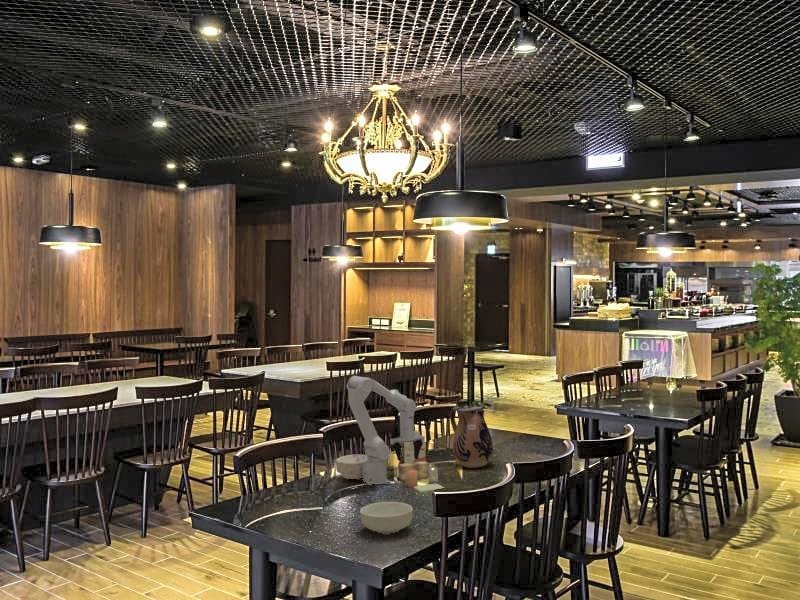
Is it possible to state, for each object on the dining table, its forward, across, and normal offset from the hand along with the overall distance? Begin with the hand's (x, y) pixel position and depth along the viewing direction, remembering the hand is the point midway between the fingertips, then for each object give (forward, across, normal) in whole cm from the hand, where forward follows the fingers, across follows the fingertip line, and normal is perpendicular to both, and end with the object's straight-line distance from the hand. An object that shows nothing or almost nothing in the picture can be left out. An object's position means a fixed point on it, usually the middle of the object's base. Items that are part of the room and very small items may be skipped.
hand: (407, 459), depth 298 cm
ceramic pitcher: (+7, -30, -2) cm, 31 cm away
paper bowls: (+7, +21, -7) cm, 23 cm away
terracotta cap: (+6, +5, +16) cm, 18 cm away
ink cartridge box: (+7, -11, -18) cm, 22 cm away
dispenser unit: (+6, 0, +6) cm, 9 cm away
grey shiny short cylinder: (+6, -4, +16) cm, 18 cm away
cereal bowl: (+7, +33, +60) cm, 69 cm away
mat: (+6, +1, +23) cm, 24 cm away
